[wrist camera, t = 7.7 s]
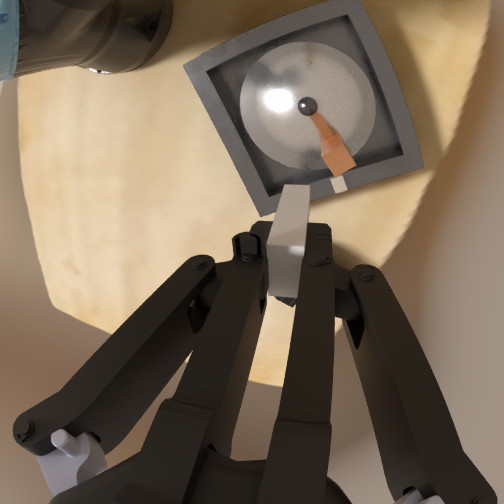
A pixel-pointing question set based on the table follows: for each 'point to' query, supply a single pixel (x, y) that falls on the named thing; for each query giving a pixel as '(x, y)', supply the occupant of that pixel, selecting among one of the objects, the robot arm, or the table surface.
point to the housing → (336, 36)
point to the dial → (308, 107)
